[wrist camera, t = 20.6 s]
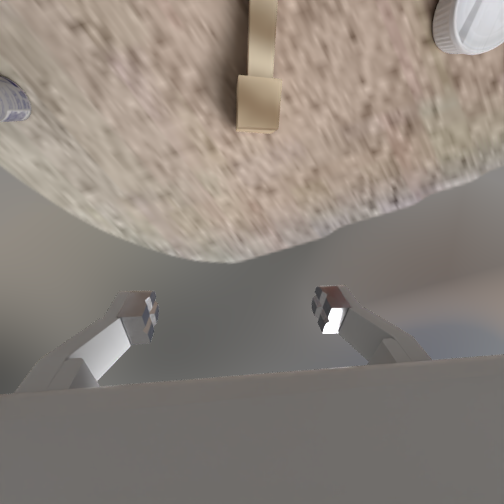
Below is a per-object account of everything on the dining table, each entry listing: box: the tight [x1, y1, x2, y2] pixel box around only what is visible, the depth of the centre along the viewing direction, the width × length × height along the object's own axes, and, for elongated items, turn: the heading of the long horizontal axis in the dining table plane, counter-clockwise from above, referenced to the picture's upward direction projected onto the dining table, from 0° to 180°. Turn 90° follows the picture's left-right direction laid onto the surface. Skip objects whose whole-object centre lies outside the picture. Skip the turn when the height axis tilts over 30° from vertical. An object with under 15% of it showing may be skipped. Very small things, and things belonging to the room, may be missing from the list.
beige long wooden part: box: [236, 0, 282, 134], centre depth 30 cm, size 20×6×5 cm, turn 176°
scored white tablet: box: [433, 0, 504, 55], centre depth 29 cm, size 11×11×5 cm
